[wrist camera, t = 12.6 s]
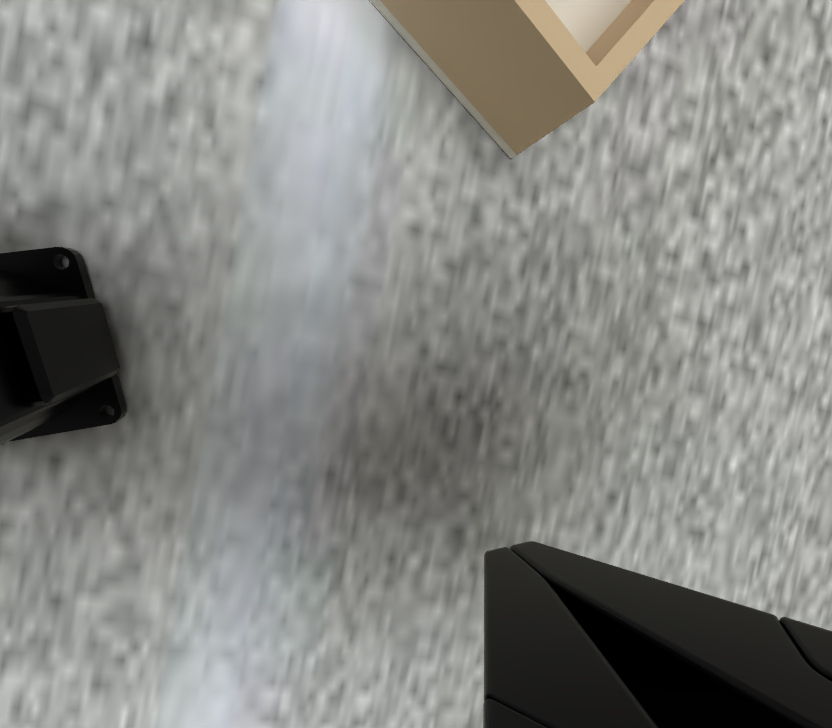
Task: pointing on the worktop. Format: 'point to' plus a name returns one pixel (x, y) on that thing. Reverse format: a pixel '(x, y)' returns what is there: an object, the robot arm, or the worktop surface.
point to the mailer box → (526, 55)
